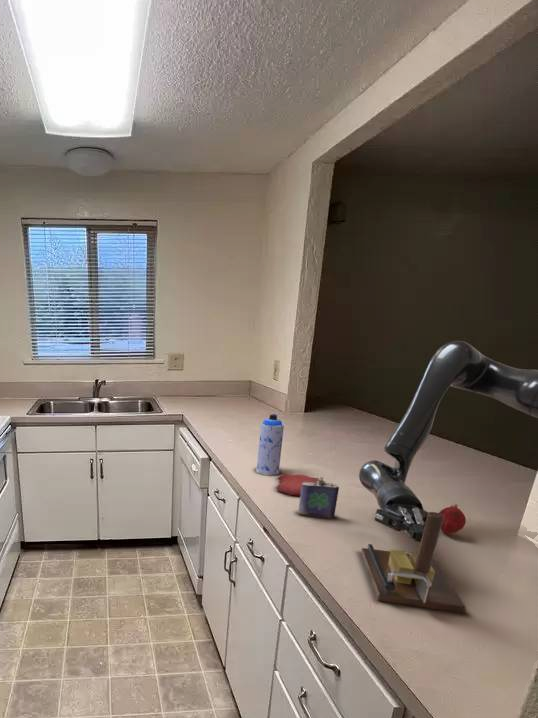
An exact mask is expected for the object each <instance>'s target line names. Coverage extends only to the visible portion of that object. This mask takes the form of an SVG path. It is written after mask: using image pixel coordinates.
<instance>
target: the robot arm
mask: <svg viewBox="0 0 538 718" xmlns="http://www.w3.org/2000/svg"><path fill="white" fill-rule="evenodd" d="M451 387H452V388H454V389H458V390H459V389H460V390H463V391H467V392H472V393H476V394H478V395H482V396H486V397H489V398H491V399H494V400H497V401H499V402H501V403H502V404H505V405H506V406H508V407H511V408H512V409H515V410H516V411H519V412H521V413H524V414H526V415H528V416H531V417H534V418H535V419H538V369H524V368H516V367H513V366H510V365H507V364H503V363H502V362H498V361H496V360H494V359H492V358H489V357H487V356H485V355H484V354H483V353H481V352H480V351H479V350H478V349H476V348H475V347H474V346H473V345H471V344H470V343H468V342H466V341H464V340H452V341H449V342H446V343H445V344H443V345H441V346H440V347H439V348H438V349H437V350H436V351H435V353H434V354H433V355H432V357H431V359H430V361H429V363H428V365H427V367H426V369H425V371H424V374H423V376H422V378H421V381H420V383H419V384H418V387H417V389H416V391H415V393H414V396H413V399H412V401H411V402H410V404H409V406H408V408H407V409H406V412H405V413H404V415H403V417H402V418H401V420H400V422H399V423H398V425H397V427H396V428H395V429H394V431H393V433H392V435H391V436H390V437H389V438H388V440H387V442H386V443H385V445H384V447H383V451H384V453H385V454H386V455H388V456H389V457H390V458H392V459H393V460H394V467H392V466H390V465H388V464H386V463H384V462H382V461H379V460H375V459H374V460H369V461H366V462H365V463H364V464H362V466H361V467H360V468H359V472H358V480H359V483H360V484H361V485H362V486H363V488H365V489H366V490H367V491H369V492H370V493H371V494H373V495H374V497H375V499H376V503H377V505H378V507H379V508H377V509H376V511H375V517H374V521H375V522H376V523H379V524H381V525H383V526H385V527H387V528H389V529H391V530H394V531H395V532H402V531H404V533H406V534H408V536H409V538H410V539H412V540H413V541H414V543H415V542H416V543H421V539H422V535H423V531H424V526H425V522H426V518H427V514H428V513H429V511H427V510H426V509H424V507H423V506H424V505H423V504H422V502H421V500H420V499H419V497H417V495H416V494H415V493H414V492H413V489H411V488H410V487H409V486H407V485H406V482H407V481H406V480H407V477H408V474H409V470H410V468H411V465H412V463H413V460H414V458H415V457H416V455H417V453H418V452H419V450H420V449H421V447H422V446H423V445H424V443H425V441H427V438H428V436H429V435H430V432H431V430H432V428H433V424H434V421H435V418H436V414H437V411H438V408H439V405H440V403H441V400H442V399H443V397H444V395H445V394H446V392H447V391H448V390H449V388H451Z"/></svg>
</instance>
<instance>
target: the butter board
mask: <svg viewBox="0 0 538 718" xmlns="http://www.w3.org/2000/svg"><path fill="white" fill-rule="evenodd" d="M360 555H361V557H362V560H363V563H364V566H365V568H366V571H367V575H368V577H369V579H370V582H371V586H372V588H373V590H374V594H375V596H376V599H377V601H381V602H386V603H387V602H388V603H393V604H400V605H406V606H414V607H420V608H426V609H433V610H440V611H446V612H453V613H459V614H464V612H465V609H466V605H465V604H464V603H463V601H462V599H461V598H460V596H459V595H458V593H457V592H456V590H455V588H454V587H453V585H452V584H451V583H450V581H449V579H448V578H447V577H446V575H445V573H444V572H443V570H442V569H441V567H440V566H439V564H438V562H437V561H436V560H435V558H434V557H433V560H432V564H431V568H430V571H429V573H426V575H427V576H428V578H429V580H430V582H431V583H432V585H431V586H430V587H429V590H428V594H427V598H426V602H425V603H423V601H422V599H421V597H420V595H419V593H418V592H417V590H416V588H415V587H416V583H417V579H416V578H409V577H401V576H394V575H393V578H392V580H393V582H394V584H395V590H388V589H385V588H384V585H383V583H382V580H383V578H388V574H389V573H391V571H399V572H407V573H414V574H419V572H418V571H416V570H415V569H414V567H415V563H416V559H417V555H418V552H413V551H409V553H406V552H405V550H398V549H397V550H396V549H390V551H389V550H382V549H375V548H374V546H373V544H372V543H368V544H367V548H366V547H362V548H361V551H360Z"/></svg>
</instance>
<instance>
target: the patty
mask: <svg viewBox="0 0 538 718" xmlns="http://www.w3.org/2000/svg"><path fill="white" fill-rule="evenodd" d="M318 479H319V477H314V476H309V475H305V474H291V473H283V474H279V475H278V480H279V481H278V483H279V484H277V486H276V489H277V491H278V492H280V493H282V494H284V495H287V496H295V497H300V496H301V489H302V484H303V483H317V481H318Z"/></svg>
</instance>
